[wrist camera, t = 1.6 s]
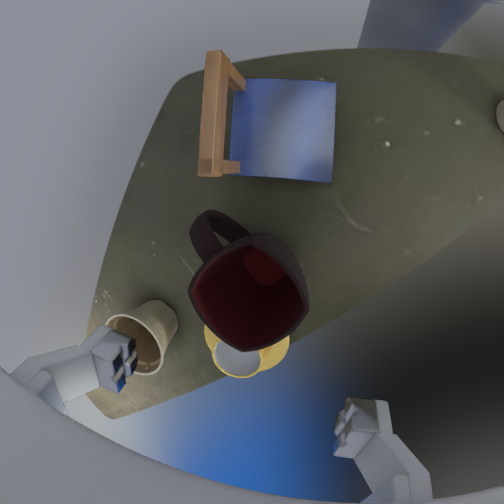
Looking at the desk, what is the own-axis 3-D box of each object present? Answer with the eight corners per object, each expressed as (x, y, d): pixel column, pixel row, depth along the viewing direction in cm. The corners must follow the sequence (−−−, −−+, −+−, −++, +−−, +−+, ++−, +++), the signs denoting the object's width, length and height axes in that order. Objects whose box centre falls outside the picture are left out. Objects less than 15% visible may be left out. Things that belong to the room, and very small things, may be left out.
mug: (263, 312, 40) (241, 364, 28) (194, 231, 39) (146, 256, 27) (324, 269, 36) (325, 312, 25) (251, 180, 35) (220, 185, 24)
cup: (300, 362, 40) (296, 386, 35) (223, 375, 43) (213, 397, 38) (273, 286, 38) (266, 303, 33) (192, 307, 41) (176, 324, 36)
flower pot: (201, 331, 43) (176, 364, 35) (159, 352, 46) (133, 382, 37) (163, 278, 42) (130, 302, 34) (125, 305, 45) (93, 329, 37)
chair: (333, 99, 31) (342, 51, 17) (328, 181, 34) (337, 186, 20) (249, 95, 33) (206, 50, 19) (245, 174, 36) (197, 176, 21)
